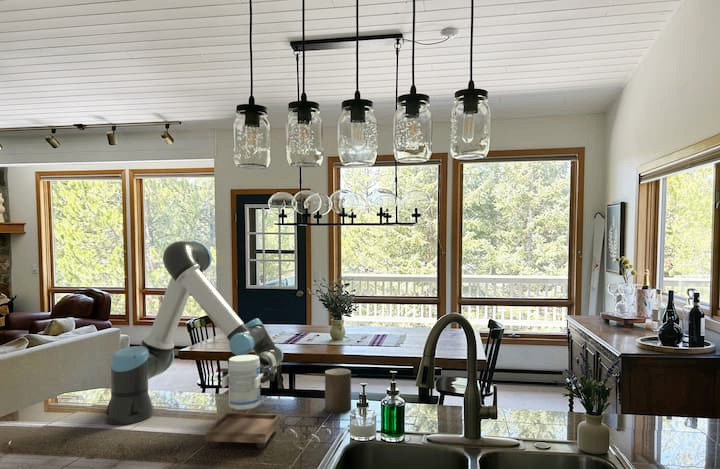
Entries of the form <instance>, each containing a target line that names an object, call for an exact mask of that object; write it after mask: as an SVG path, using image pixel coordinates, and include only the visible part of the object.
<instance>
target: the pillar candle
mask: <svg viewBox="0 0 720 469" xmlns="http://www.w3.org/2000/svg"><path fill="white" fill-rule="evenodd" d="M324 410H325V411H326V412H328V413H332V414H344V413H348V412H350V411H351V410H352V371H351V370H350V369H348V368H331V369H327V370H325V371H324Z"/></svg>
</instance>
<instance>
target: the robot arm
mask: <svg viewBox="0 0 720 469" xmlns="http://www.w3.org/2000/svg"><path fill="white" fill-rule="evenodd" d="M212 255H213V254H212V252H211V250H210V248H209V247H208V246H207V245H206V244H204V243H202V242H198V241H196V240H195V241H182V240H179V241H175V242H173V243H170V244H169V245H168V246H167V247H166V248H165V250H164V252H163V255H162V261H163V265H164V268H165V269H166V271H167V273H168V274H169V275H170V277H171V278H170V279H169V282H168V285H167V287H166V289H165V292H164V295H163V298H162V300H161V302H160V306H159V308H158V311H157V312H156V316H155V318H154V321H153V324H152V326H151V329H150V331H149V334H148V335H145V336H143V338H142V341H141V342H140V345H135V346H134V345H133V346H129V347H124V348H122V349H119V350H117V351H115V352H114V353H113V355H112V357H111V363H110V368H111V372H110V374H111V375H110V378H111V379H110V381H111V382H110V383H111V384H110V385H111V386H110V389H111V390H110V395H111V396H110V399H109V402H108V404H107V408H106V411H105V413H104V422H105V423H106V424H111V425H114V426H115V425H116V426H118V425H121V426H122V425H130V424H135V423H138V422H142V421H144V420H147V419H149V418H151V417H152V416H153V415H154V406H153V402H152V399H151V397H150V394H149V380H150V379H152V378H154V377H156V376H158V375H161V374H163V373H164V372H165V371H167V370H168V369H169V368H170V367H171V366H172V364H173V362H174V359H175V352H174V348H175V343H174V341H173V339H174V337H175V334H176V331H177V329H178V325H179V323H180V321H181V318H182V316H183V314H184V310H185V308H186V305H187V302H188V300H189V297H190V296H191V297H192V298H193V299H194V300H195V302H196V304H198V305H199V307H201V309H202V310H203V312H205V314H206V316H207V317H208V318H209V319H210V320H211V321H212V322H213V323H214V324H215V326H216V327H217V328H218V329H219V331H220V332H221V333H222V335H224V337H225V338H226V339H227V340H228V342H229V343H228V345H229V350H230V352H232V354H234V355H235V356H239V355H249V353H251V352H254V355H257V356H259V361H260V375H259V376H258V377H257V378H256V379H255V388H258V387H259V386H260V387H261V385H263V384H264V383H267V382H269V381H270V382H275V376H276V375H277V374H278V372H277V370H278V366H280V365H281V364H282V362H283V359H284V352H283V350H282V349H281V347H279V346H277V345H276V344H275V343H274V341H273V340H272V338H271V336H270V334H269V333H268V332H267V329H266V328H265V325H264V324H263V322H262V321H261V319H259V318H254V319H252V320H250V321H249V322H247V323H244V321H243V320H242V319H241V318H240V316H239V315H238V314H237V313H236V312H235V310H234V309H233V308H232V307H231V306H230V304H229V303H228V302H227V301H226V300H225V298H224V297H223V296H222V294H220V293H219V291H217V290H218V289H216V288H215V287H214V285H213V284H212V283H211V282H210V281H209V279H208V278H207V277H206V276H205V275H204V271H206V270H208V269H209V267H210V266H211V263H212V261H213V257H212ZM227 386H229V383H228V369H227V370H224V371H222V378H221V388H223V389H224V388H226V387H227Z"/></svg>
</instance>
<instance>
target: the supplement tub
mask: <svg viewBox="0 0 720 469" xmlns="http://www.w3.org/2000/svg"><path fill="white" fill-rule="evenodd" d="M227 366H228V369H227V370H228V383H229V384H228V406H229V408H231V409H233V410H238V411H244V410H250V409H253V408H256V407H258V406H259V405H260V403H261V385H260V386H259V387H258V388H255V379H256V378H257V377H258V376H259V375H260V361H259V356H257V355H256V354H245V355H235V356H231V357H230V358H228V365H227Z"/></svg>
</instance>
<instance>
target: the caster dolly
mask: <svg viewBox="0 0 720 469" xmlns="http://www.w3.org/2000/svg"><path fill="white" fill-rule="evenodd" d="M280 424H281V414H280V413H279V414H277V413H253V412H251V413H250V412H249V413H248V412H246V413H245V412H226V413H224V415H222V416H221V418H219V419H218V420H217V421H216V422H215V423H214V424H213V425H212V426H211V427H209V428H208V429H207V431H205V442H210V443H209V444H210V446H211V448H217V447H218V446H219V444H220V442H221V443H222V442H223V443H225V442H226V443H251V444H256V446H255V447H256V448H257V449H258V450H263V449H264V448H265V446H266V443H267V441H268V440H269V439H270V437H271V436H272V434H274V433H275V432H276V431H277V427H279V425H280Z"/></svg>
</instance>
